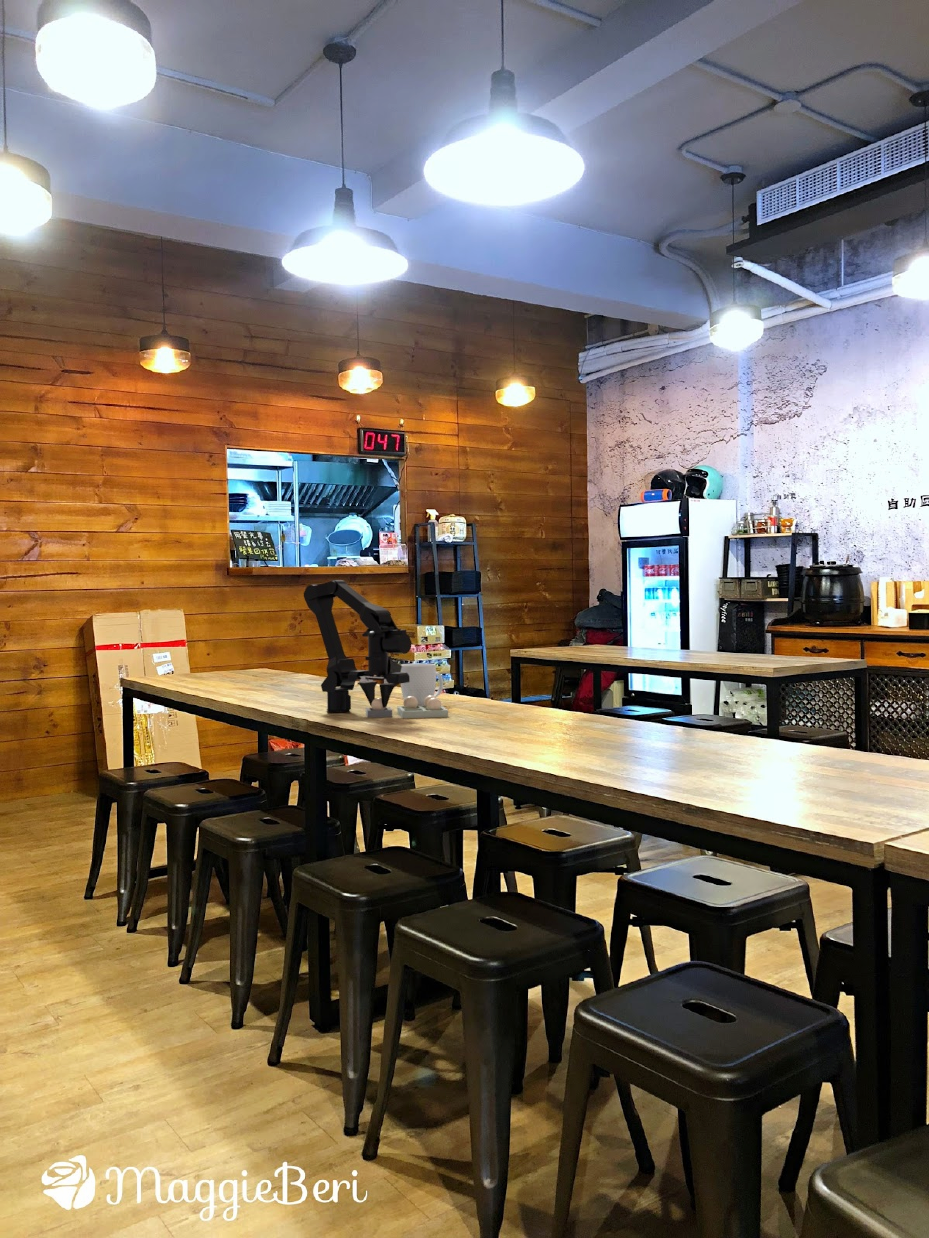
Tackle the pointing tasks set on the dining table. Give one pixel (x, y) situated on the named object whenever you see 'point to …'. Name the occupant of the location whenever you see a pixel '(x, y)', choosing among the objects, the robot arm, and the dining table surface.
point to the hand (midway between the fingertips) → (378, 706)
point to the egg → (377, 704)
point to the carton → (422, 708)
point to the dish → (379, 712)
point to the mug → (421, 681)
